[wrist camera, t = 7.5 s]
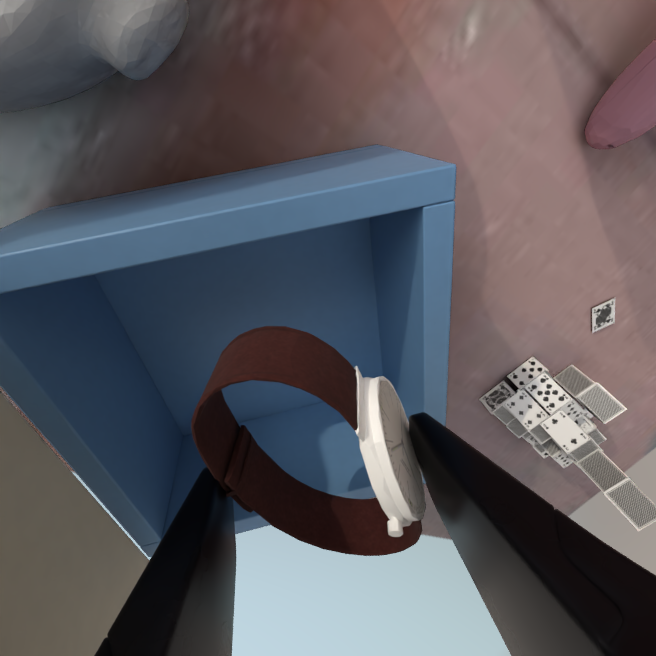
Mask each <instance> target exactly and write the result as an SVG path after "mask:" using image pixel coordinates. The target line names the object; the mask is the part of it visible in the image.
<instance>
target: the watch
mask: <svg viewBox="0 0 656 656" xmlns="http://www.w3.org/2000/svg"><path fill="white" fill-rule="evenodd" d="M250 380H256V381H268V382H279V383H282V384H286V385H289V386H292V387H295V388H299V389H301V390H303V391H306V392H308V393H310V394H312V395H314V396H316V397H318V398H320V399H321V400H323V401H324V402H325V403H327V404H328V405H330V406H331V407H332V408H334V409H335V410H337V411H338V412H339V413H340V414H341V415H342V416H343V417H344V419H345V420H346V421H347V422H348V423H349V425H350V426H351V427H352V428H353V429H354V430H355V432H356V434H357V436H358V437H359V445H360V450H361V453H362V456H363V460H364V463H365V466H366V469H367V472H368V476H369V479H370V482H371V485H372V488H373V490H374V492H375V495H376V497H377V498H373V499H353V498H345V497H340V496H336V495H332V494H328V493H325V492H323V491H320V490H317V489H314V488H312V487H310V486H308V485H306V484H304V483H302V482H300V481H298V480H297V479H295V478H294V477H292V476H291V475H289V474H288V473H287V472H285V471H284V470H283V469H282V468H281V467H280V466H279V465H278V464H277V463H276V462H275V461H274V460H273V459H272V458H271V457H270V456H269V455H268V454H267V453H266V452H265V451H264V450H263V449H262V448H261V447H260V446H258V444H257V442H256V441H255V439H254V438H253V436H252V434H251V433H250V432H249V431H248V429H247V428H246V426H245V425H240V426H239V424H238V423H237V421H236V419H235V417H234V416H233V414H232V412H231V410H230V409H229V407H228V405H227V403H226V402H225V399H224V396H223V393H222V390H221V389H223V388H225V387H227V386H229V385H231V384H236V383H241V382H246V381H250ZM191 430H192V436H193V440H194V442H195V444H196V447H197V449H198V451H199V454H200V456H201V458H202V460H203V461H204V463H205V464H206V466H207V467H208V469H209V470H210V472H211V473H212V475H213V476H214V478H215V479H216V480H218V481H219V483H220V485H221V487H222V488H223V489H224V490H225V492H226V493H225V494H226V496H227V497H230V496H231V497H232V498H233V499H234V500H235V501H236V502H237V503H238V504H239V505H240V506H241V507H242V508H243V509H244V510H246V511H248V512H250V513H251V512H252V511H253V510H254V511H255V512H256V513H257V514H258V515H260V516H261V517H262V518H263V519H265V520H266V521H267V522H268V523H270V524H271V525H272V526H274V527H276V528H277V529H279V530H281V531H283V532H285V533H287V534H289V535H290V536H292V537H294V538H296V539H298V540H300V541H303V542H305V543H308V544H311V545H314V546H317V547H319V548H322V549H326V550H331V551H336V552H340V553H345V554H354V555H364V556H374V555H375V556H377V555H378V556H379V555H387V554H392V553H397V552H401V551H403V550H405V549H407V548H409V547H411V546H412V545H414V544H415V543H416V542H417V541H418V540H419V537H420V535H421V532H422V525H421V519H423V516H424V512H425V508H426V503H425V494H424V485H423V478H422V472H421V469H420V466H419V464H418V461H417V458H416V454H415V451H414V448H413V444H412V441H411V437H410V434H409V422H408V419H407V417H406V414H405V411H404V408H403V406H402V403H401V401H400V399H399V397H398V395H397V393H396V391H395V389H394V387H393V385H392V384H391V382H390V381H389V380H388V379H386V378H385V377H384V376H380V377H376V378H370V377H365V378H363V377H362V375H361V373H360V371H359V369H358V367H357V366H355V367H354V368H353V366H352V365H351V364H350V363H349V362H348V360H346V359H345V358H344V357H343V356H342V355H341V354H340V353H339V352H338V351H337V350H336V349H335V348H333V347H332V346H330V345H329V344H327V343H326V342H324V341H323V340H321V339H319V338H318V337H316V336H314V335H312V334H310V333H308V332H304V331H301V330H297V329H294V328H290V327H286V326H264V327H259V328H254V329H251V330H249V331H247V332H244V333H242V334H240V335H238V336H237V337H236V338H235V339H234V340H232V341H231V342H230V343H229V344H228V346H227V347H226V348H225V349H224V350H223V351H222V353H221V355H220V357H219V359H218V362H217V364H216V366H215V368H214V370H213V372H212V375H211V377H210V379H209V381H208V383H207V385H206V387H205V390H204V392H203V394H202V396H201V398H200V400H199V403H198V404H197V406H196V408H195V410H194V414H193V417H192V420H191Z"/></svg>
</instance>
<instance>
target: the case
mask: <svg viewBox="0 0 656 656" xmlns="http://www.w3.org/2000/svg"><path fill="white" fill-rule="evenodd" d="M455 186H456V165H455V164H452V163H448V162H444V161H441V160H437V159H433V158H429V157H425V156H421V155H417V154H413V153H410V152H406V151H402V150H398V149H394V148H390V147H386V146H381V145H371V146H366V147H361V148H356V149H350V150H345V151H340V152H335V153H330V154H324V155H319V156H314V157H309V158H303V159H298V160H293V161H288V162H283V163H277V164H272V165H267V166H262V167H256V168H251V169H246V170H241V171H236V172H230V173H225V174H220V175H215V176H209V177H204V178H199V179H194V180H189V181H183V182H178V183H173V184H168V185H162V186H157V187H152V188H147V189H142V190H136V191H131V192H126V193H121V194H115V195H110V196H105V197H100V198H95V199H89V200H84V201H79V202H74V203H68V204H63V205H58V206H53V207H48V208H45V209H43V210H40V211H38V212H37V213H34V214H31V215H29V216H27V217H25V218H23V219H21V220H19V221H16V222H14V223H12V224H10V225H8V226H6V227H4V228H1V229H0V386H1V387H2V389H3V390H4V391H5V392H6V393H7V394H8V395H9V397H10V398H11V399H12V400H13V401H14V402H15V403H16V405H17V406H18V407H19V408H20V409H21V410H22V412H23V413H24V414H25V415H26V416H27V417H28V418H29V420H30V421H31V422H32V423H33V424H34V425H35V426H36V428H37V429H38V430H39V431H40V432H41V433H42V434H43V436H44V437H45V438H46V439H47V440H48V441H49V443H50V444H51V445H52V446H53V447H54V448H55V449H56V451H57V452H58V453H59V454H60V455H61V456H62V457H63V459H64V460H65V461H66V462H67V463H68V464H69V465H70V467H71V468H72V469H73V470H74V471H75V472H76V474H77V475H78V476H79V477H80V478H81V479H82V480H83V482H84V483H85V484H86V485H87V486H88V487H89V488H90V489H91V491H92V492H93V493H94V494H95V495H96V496H97V498H98V499H99V500H100V501H101V502H102V503H103V505H104V506H105V507H106V508H107V509H108V510H109V511H110V513H111V514H112V515H113V516H114V517H115V518H116V519H117V521H118V522H119V523H120V524H121V525H122V526H123V528H124V529H125V530H126V531H127V532H128V533H129V534H130V535H131V537H132V538H133V539H134V540H135V541H136V542H137V543H138V545H139V546H140V547H141V549H142V550H143V551H144V552H145V553H146V554H147V555H148V557H152V556H153V554H154V552H155V550H156V549H157V547H158V545H159V543H160V542H161V540H162V538H163V537H164V535H165V533H166V531H167V530H168V528H169V526H170V524H171V523H172V521H173V519H174V518H175V516H176V514H177V512H178V511H179V509H180V507H181V506H182V504H183V502H184V500H185V499H186V497H187V495H188V493H189V492H190V490H191V488H192V487H193V485H194V483H195V481H196V480H197V478H198V476H199V474H200V473H201V471H202V470H203V469H204V468H205V467H207V466H206V464H205V463H204V461H203V460H202V458H201V456H200V454H199V451H198V449H197V447H196V444H195V442H194V440H193V436H192V430H191V420H192V417H193V414H194V410H195V408H196V406H197V404H198V403H199V400H200V398H201V396H202V394H203V392H204V390H205V387H206V385H207V383H208V381H209V379H210V377H211V375H212V372H213V370H214V368H215V366H216V364H217V362H218V359H219V357H220V355H221V353H222V351H223V350H224V349H225V348H226V347H227V346H228V344H229V343H230V342H231V341H232V340H234V339H235V338H236V337H237V336H238V335H240V334H242V333H244V332H247V331H249V330H251V329H254V328H259V327H264V326H286V327H290V328H294V329H297V330H301V331H304V332H308V333H310V334H312V335H314V336H316V337H318V338H319V339H321V340H323V341H324V342H326V343H327V344H329V345H330V346H332V347H333V348H335V349H336V350H337V351H338V352H339V353H340V354H341V355H342V356H343V357H344V358H345V359H346V360H348V362H349V363H350V364H351V365H352V366H353V368H354V367H355V366H357V367H358V369H359V371H360V373H361V375H362V377H363V378H365V377H370V378H376V377H380V376H384V377H385V378H386V379H388V380H389V381H390V382H391V384H392V385H393V387H394V389H395V391H396V393H397V395H398V397H399V399H400V401H401V403H402V406H403V408H404V411H405V414H406V417H407V419H408V422H409V416H410V415H413V414H417V413H420V412H425V413H427V414H428V415H430V416H431V417H433V418H434V419H435V420H437V421H438V422H439V423H441V424H442V425H443V426H445V427H446V404H447V381H448V358H449V334H450V311H451V288H452V264H453V241H454V218H455V201H453V200H454V199H455ZM221 390H222V393H223V396H224V399H225V402H226V403H227V405H228V407H229V409H230V410H231V412H232V414H233V416H234V417H235V419H236V421H237V423H238V424H239V426H240V425H245V426H246V428H247V429H248V431H249V432H250V433H251V434H252V436H253V438H254V439H255V441H256V442H257V444H258V446H260V447H261V448H262V449H263V450H264V451H265V452H266V453H267V454H268V455H269V456H270V457H271V458H272V459H273V460H274V461H275V462H276V463H277V464H278V465H279V466H280V467H281V468H282V469H283V470H284V471H285V472H287V473H288V474H289V475H291V476H292V477H294V478H295V479H297V480H298V481H300V482H302V483H304V484H306V485H308V486H310V487H312V488H314V489H317V490H320V491H323V492H325V493H328V494H332V495H336V496H340V497H345V498H353V499H369V498H373V497H376V495H375V492H374V490H373V488H372V485H371V482H370V479H369V476H368V472H367V469H366V466H365V463H364V460H363V456H362V453H361V450H360V445H359V437H358V436H357V434H356V432H355V430H354V429H353V428H352V427H351V426H350V425H349V423H348V422H347V421H346V420H345V419H344V417H343V416H342V415H341V414H340V413H339V412H338V411H337V410H335V409H334V408H332V407H331V406H330V405H328V404H327V403H325V402H324V401H323V400H321V399H320V398H318V397H316V396H314V395H312V394H310V393H308V392H306V391H303V390H301V389H299V388H295V387H292V386H289V385H286V384H282V383H279V382H268V381H256V380H250V381H246V382H241V383H236V384H231V385H229V386H227V387H225V388H223V389H221ZM422 478H423V484H425V483H426V482H425V480H424V477H423V474H422ZM233 506H234V523H235V534H238V533H242V532H245V531H249V530H253V529H257V528H260V527H264V526H268V525H271V524H270V523H268V522H267V521H266V520H265V519H263V518H262V517H261V516H260V515H258V514H257V513H256V512H255V511H254V510H253V511H252V512H251V513H250V512H248V511H246V510H244V509H243V508H242V507H241V506H240V505H239V504H238V503H237V502H236V501H235V500H234V499H233Z"/></svg>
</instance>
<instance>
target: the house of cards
mask: <svg viewBox="0 0 656 656" xmlns="http://www.w3.org/2000/svg"><path fill="white" fill-rule="evenodd" d="M613 323H615V298H614V299H612V300H609V301H607V302H605V303H603V304H601V305H599V306H597V307H594V308H592V333H594V332H596V331H598V330H600V329H602V328H604V327H607V326H609V325H611V324H613ZM548 371H549V370H548V369H547V368H546V367H545V366H544V365H543V364H541V363H540V362H539V361H538V360H537V359H536V358H535V357H531V358H530V359H529V360H527V361H526V362H525V363H523V364H522V365H521V366H520V367H518V368H517V369H516V370H514V371H513V372H512V373H510V374H509V375H508V376H507V377H508V378H509V379H510V380H511V381H512V382H513V383H514V384H515V385H516V386H517V387H518V388H519V389H518V390H516V391H515V392H514V390H513V389H512V388H511V387H510V386H509V385H508V384H507V383H506V382H505V381H504V380H503V381H502V382H501V383H499V384H498V385H497V386H495V387H494V388H493V389H491V390H490V391H489V392H487V393H486V394H485V395H484V396H482V397H481V398H480V399H479V400H480V401H481V402H482V403H483V405H484V406H485V407H486V409H487V410H488V411H489V412H490V414H491V415H492V414H494V415H495V416H496V417H497V418H498V419H499V420H501V421H502V422H503V423H504V424H505V425H507V424H508V425H507V426H506V427H507V428H508V429H509V430H510V431H511V432H512V433H513V434H515V435H516V436H517V437H518V438H520V437H523V438H524V439H525V440H526V441H527V442H528V443H530V444H531V445H532V447H533V448H534V449H535V450H536V452H538V453H539V454H540V455H541V457H542V458H544V459H545V458H546V457H548V456H549V455H550V456H551V457H552V458H553V459H554V460H555V461H556V462H558V463H559V464H560V465H561V466H562V467H563V468H565V467H567V466H569V465H570V464H572V463H573V462H574V464H575V465H576V466H577V467H578V468H580V469H581V470H582V471H583V472H584V473H585V474H586V475H587V477H588V478H589V479H591V480H592V481H593V482H594V483H595V484H596V485H597V486H598V487H599V488H600V490H601V491H603V494H604V495H605V496H606V497H607V498H608V499H609V500H610V501H611V502H612V503H613V504H614V505H615V507H616V508H617V509H618V510H619V511H620V512H621V513H622V514H623V515H624V516H625V518H626V519H627V520H628V521H629V522H630V523H631V524H632V525H633V527H634V528H636V530H637V531H639V530H641V529H643V528H645V527H647V526H648V525H650V524H652V523H654V522H656V505H655V504H654V503H653V502H652V501H651V500H650V499H649V498H648V497H647V496H646V495H645V494H644V493H643V492H642V491H641V490H640V489H639V488H638V487H637V485H636V484H635V483H634V482H633V481H632V479H631V478H630V477H628V476H627V475H626V474H625V473H624V472H623V471H621V470H620V469H619V468H618V467H617V466H616V465H615V464H614V463H613V462H612V461H611V460H610V459H609V458H608V457H607V456H606V455H605V454H604V453H603V452H604V451H603V450H602V449H601V448H600V447H599V446H598V445H599V444H600V443H602V442H603V441H605V440H606V438H605V437H604V436H603V435H602V434H601V433H600V432H599V430H598V429H597V428H596V427H597V426H596V425H595V424H593V423H594V422H593V421H592V420H591V419H590V418H591V417H593V416H595V417H596V418H597V419H599V420H600V421H601V422H602V423H604V424H606V423H607V422H609V421H610V420H612V419H613V418H615V417H616V416H618V415H619V414H621V413H622V412H624V411H625V410H627V408H626V407H624V406H623V405H622V404H621V403H620V402H619V401H618V400H617V399H616V398H614V397H613V396H612V395H611V394H610V393H609V392H608V391H607V390H606V389H604V388H603V387H602V386H601V385H600V384H599V383H598V382H597V383H595V382H594V381H592V380H591V379H590V378H589V377H587V376H586V375H585V374H583V373H582V372H581V371H580V370H578V369H577V368H576V367H575V366H573V365H572V364H571V365H570V366H569V367H567V368H566V369H565V370H563V371H562V372H561V373H559V374H558V375H556V376H555V377H554V378H552V377H551V376H550V374H549V373H548ZM555 380H556V381H557V382H558V383H559V384H560V385H561V386H562V387H563V388H561V387H560V386H559V385H558V384H557V383H556V382H554V381H555ZM565 391H566V392H567V393H568V394H567V393H566V392H565ZM577 402H578V403H579V404H580V405H581V406H582V407H584V409H582V408H581V406H580V405H579V404H578V403H577Z"/></svg>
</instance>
